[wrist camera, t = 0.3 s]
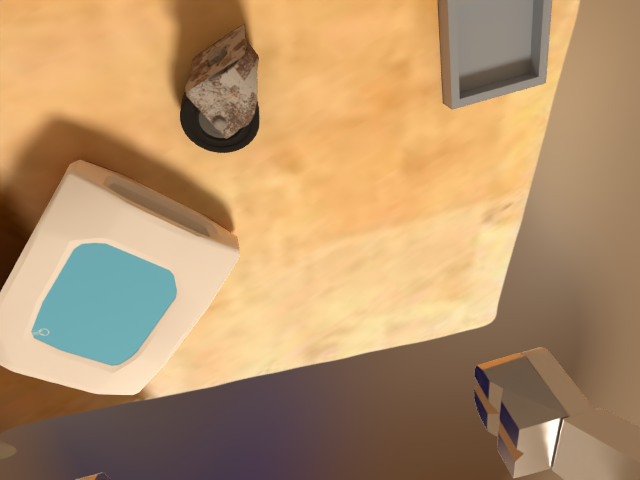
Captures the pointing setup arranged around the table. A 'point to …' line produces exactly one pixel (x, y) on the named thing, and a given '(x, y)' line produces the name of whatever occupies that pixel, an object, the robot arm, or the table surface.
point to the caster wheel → (222, 95)
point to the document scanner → (109, 283)
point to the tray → (492, 48)
